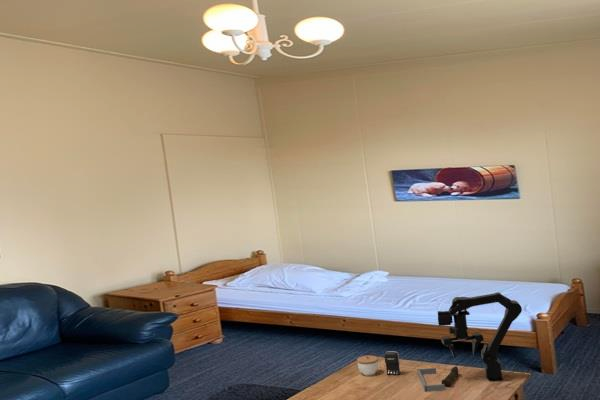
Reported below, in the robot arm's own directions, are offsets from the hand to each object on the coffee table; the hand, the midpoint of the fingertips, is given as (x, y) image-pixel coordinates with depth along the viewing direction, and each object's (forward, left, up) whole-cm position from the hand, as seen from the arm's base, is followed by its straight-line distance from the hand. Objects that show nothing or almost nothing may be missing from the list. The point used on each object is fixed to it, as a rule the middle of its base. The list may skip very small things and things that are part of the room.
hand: (464, 356), depth 279 cm
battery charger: (+33, -14, -11) cm, 38 cm away
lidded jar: (+45, -18, -11) cm, 50 cm away
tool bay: (+16, 0, -11) cm, 20 cm away
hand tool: (+7, 0, -11) cm, 13 cm away
